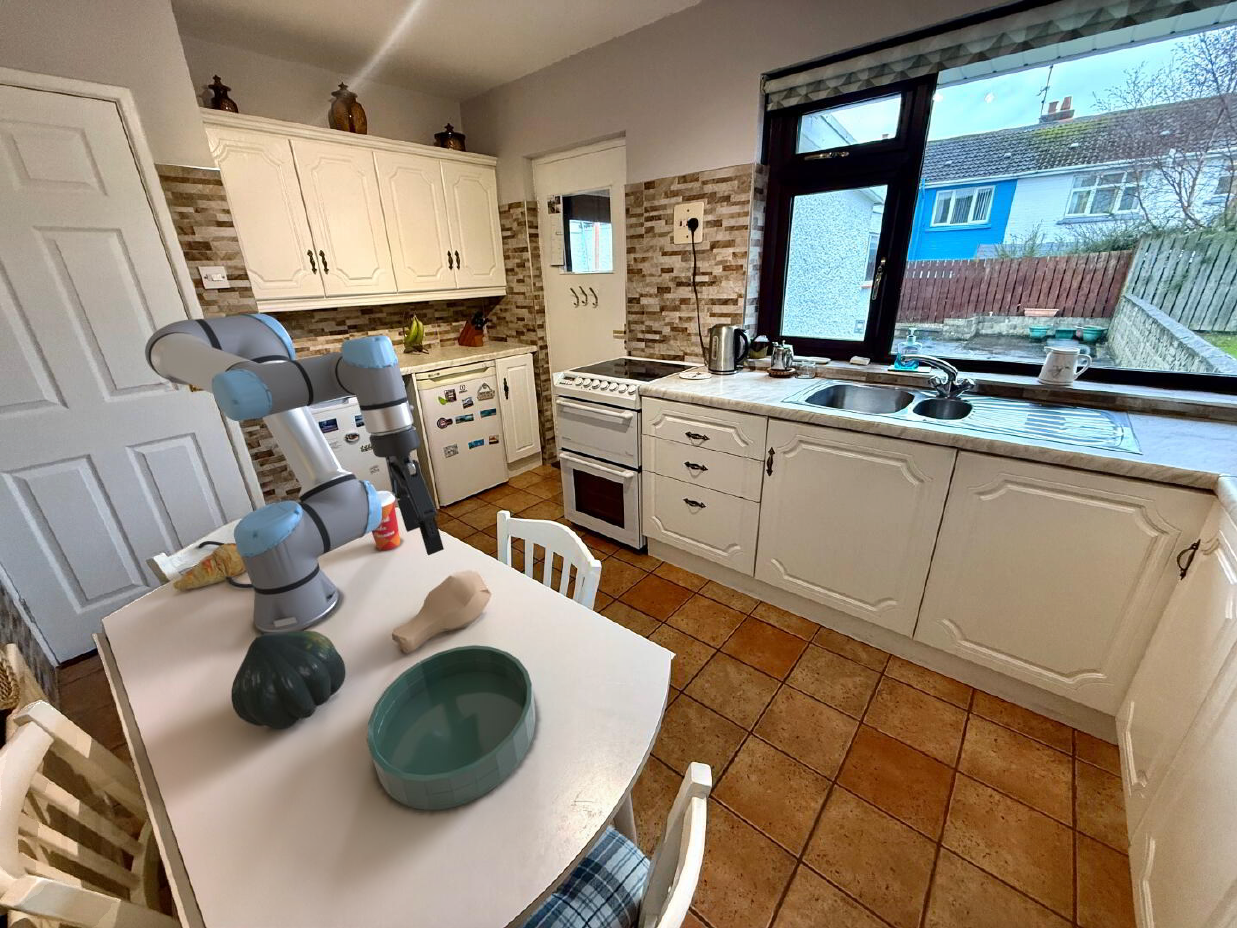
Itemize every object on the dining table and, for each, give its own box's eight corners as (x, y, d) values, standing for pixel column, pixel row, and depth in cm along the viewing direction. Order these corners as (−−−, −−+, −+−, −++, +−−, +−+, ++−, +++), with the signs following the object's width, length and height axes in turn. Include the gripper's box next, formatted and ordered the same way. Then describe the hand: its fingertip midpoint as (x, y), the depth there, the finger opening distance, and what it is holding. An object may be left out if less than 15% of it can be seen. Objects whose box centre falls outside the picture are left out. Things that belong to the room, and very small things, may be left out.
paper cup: (366, 551, 123) (352, 502, 118) (384, 535, 130) (372, 489, 125) (394, 553, 122) (382, 504, 117) (411, 537, 129) (400, 490, 124)
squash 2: (504, 609, 102) (499, 580, 97) (418, 675, 89) (407, 646, 84) (473, 582, 108) (467, 554, 102) (388, 641, 95) (376, 612, 90)
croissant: (187, 610, 109) (181, 590, 104) (163, 581, 112) (156, 560, 107) (286, 561, 125) (285, 542, 120) (264, 536, 128) (261, 517, 123)
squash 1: (359, 686, 77) (318, 603, 79) (249, 753, 68) (205, 656, 70) (353, 690, 88) (317, 617, 90) (257, 748, 79) (219, 665, 80)
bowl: (347, 745, 74) (336, 717, 71) (474, 651, 91) (469, 626, 88) (436, 849, 60) (427, 819, 58) (566, 716, 77) (563, 689, 75)
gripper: (436, 434, 75) (468, 553, 82) (396, 416, 94) (424, 514, 101) (385, 447, 71) (423, 572, 78) (354, 425, 90) (387, 527, 97)
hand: (424, 539), depth 90 cm, fingers open, 13 cm apart
